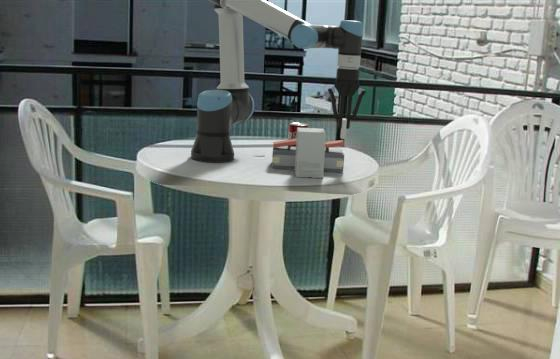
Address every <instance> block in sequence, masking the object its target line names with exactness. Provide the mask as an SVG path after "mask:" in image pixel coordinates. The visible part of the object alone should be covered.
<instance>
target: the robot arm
mask: <svg viewBox="0 0 560 359" xmlns="http://www.w3.org/2000/svg"><path fill="white" fill-rule="evenodd" d="M207 1H209V2H210V3H212V4H213V10H214V12H215V13H216V14H217V16H218V36H219V41H218V42H219V68H220V70H219V71H220V74H219V75H220V84H218V86H216V89H212V90H211V89H209V90H204V91H202V92H200V93H199V94H198V97H197V103H196V107H197V108H196V110H197V111H196V114H197V115H196V136H195V140H194V142H193V144H192V148H191V150H190V159H192V160H195V161H199V162H203V163H228V162H233V161H234V160H235V150H234V146H233V144H232V140H231V126H234V125H240V124H243V123H244V122H246V121H248V120H249V119H250V118H251V117H252V115H253V114H254V110H255V101H254V98H253V97H252V95H251V94H250V88H249V85H247V83H246V81H245V55H244V54H245V51H244V50H245V49H244V48H245V47H244V18H243V17H246V18H248V19H249V20H252V21H254V22H255V23H258V24H259V25H261V26H263V27H265V28H266V29H268V30H270V31H272V32H274V33H276V34H278V35H280V36H282V37H283V38H285V39H287V40H289V41H291V42H292V44H293V45H294V46H295V47H296V48H298V49H303V50H308V49H333V50H337V51H338V52H337V63H336V66H337V67H338V68H337V69H336V77H335V82H334V83H333V84H334V85H332V86H330V87H328V88H327V92H328V93H329V95H330V102H331V106H332V108H331V109H332V113H333V116H334V118H337V119H338V122H337V127H338V129H340V135H339V136H340V139H341V140H345V139H346V135H347V130H349V129H350V126H351V119H355V118H356V117H357V114H358V112H359V108H360V106H361V102H362V99H363V97H364V96H365V95H366V93H367V91H366V90H365V89H363V88H361V86H360V82H359V81H360V70H359V68H361V58H362V57H361V56H362V43H363V37H364V35H363V34H364V33H363V31H364V30H363V28H364V26H363V22H362V21H359V20H348V19H347V20H345V19H341V20H340V23H339V25H329V24H319V23H318V24H316V23H315V24H314V23H313V24H311V23H309V22H307V21H306V20H304V19H301V18H300V17H297V16H296V15H295V14H292V13H290V12H289V11H286V10H284V9H282V8H281V7H279V6H277V5H275V4H273V3H272V2H270V1H267V0H207ZM336 91H337V93H338V94H339V108H337V103H336V97H335V93H336ZM356 93H357V94H358V95H357V97H356V101H355V104H354V106H353V110H352V104H353V96H354V95H355V94H356ZM346 96H347V99H346V100H347V102H346V114H345V117H346V118H344V109H345V108H344V106H345V97H346ZM337 109H338V110H337Z"/></svg>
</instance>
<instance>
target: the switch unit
mask: <svg viewBox="0 0 560 359" xmlns="http://www.w3.org/2000/svg"><path fill="white" fill-rule="evenodd" d="M295 156H296V147H291V146H290V145H289V146H283V147H276V148H274V146H273V145H272V156H271V157H272V161H271V169H272V170H273V169H275V170H291V171H292V170H293V171H295ZM344 163H345V154H344V151H343V149H342V148H340V149H339V148H330V147H329V148H325V157H324V172H328V173H342V172H343V173H344V166H345V164H344Z"/></svg>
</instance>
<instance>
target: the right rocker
mask: <svg viewBox="0 0 560 359" xmlns="http://www.w3.org/2000/svg"><path fill="white" fill-rule="evenodd" d="M344 146H345V141H344V139H341V140H331V141H325V149H326V148H329V149H330V148H337V147H344Z"/></svg>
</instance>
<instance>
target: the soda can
mask: <svg viewBox="0 0 560 359" xmlns="http://www.w3.org/2000/svg"><path fill="white" fill-rule="evenodd" d="M297 127H298V128H310V127H309V124H308V123H303V122H290V123H289V124H288V132H287V133H288V134H287V140H290V139H296V138H297ZM290 146H291V147H296V145H290Z"/></svg>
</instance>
